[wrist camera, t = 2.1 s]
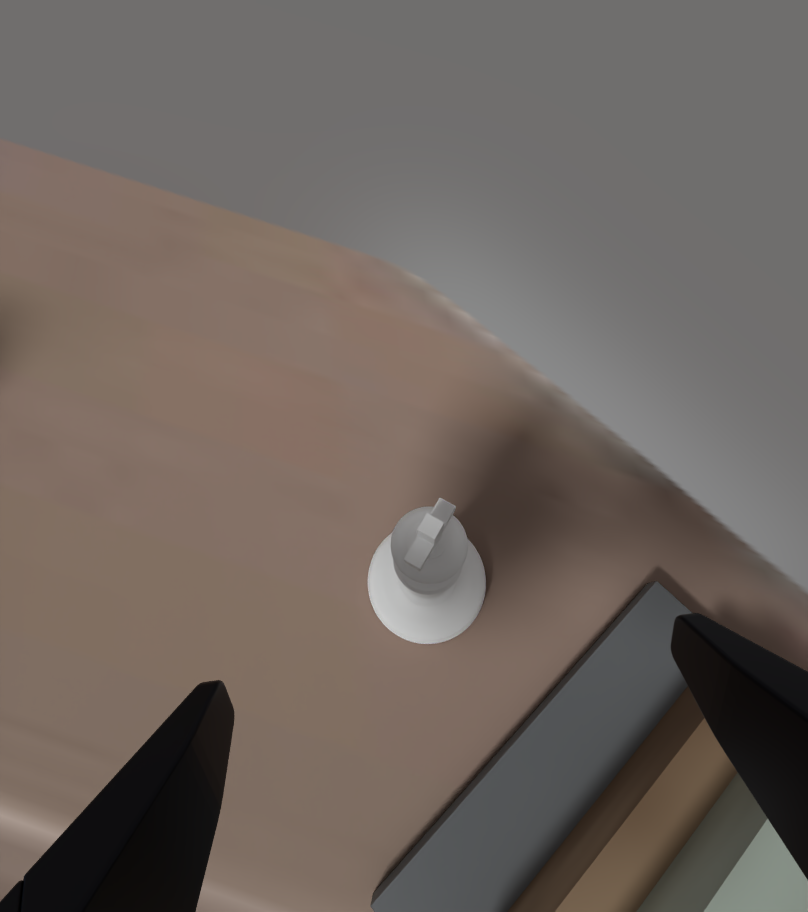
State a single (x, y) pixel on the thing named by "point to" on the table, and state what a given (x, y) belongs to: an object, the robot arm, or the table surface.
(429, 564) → the chess piece
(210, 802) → the robot arm
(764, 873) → the stacked blocks
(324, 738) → the table surface
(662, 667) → the baseplate
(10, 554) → the table surface
